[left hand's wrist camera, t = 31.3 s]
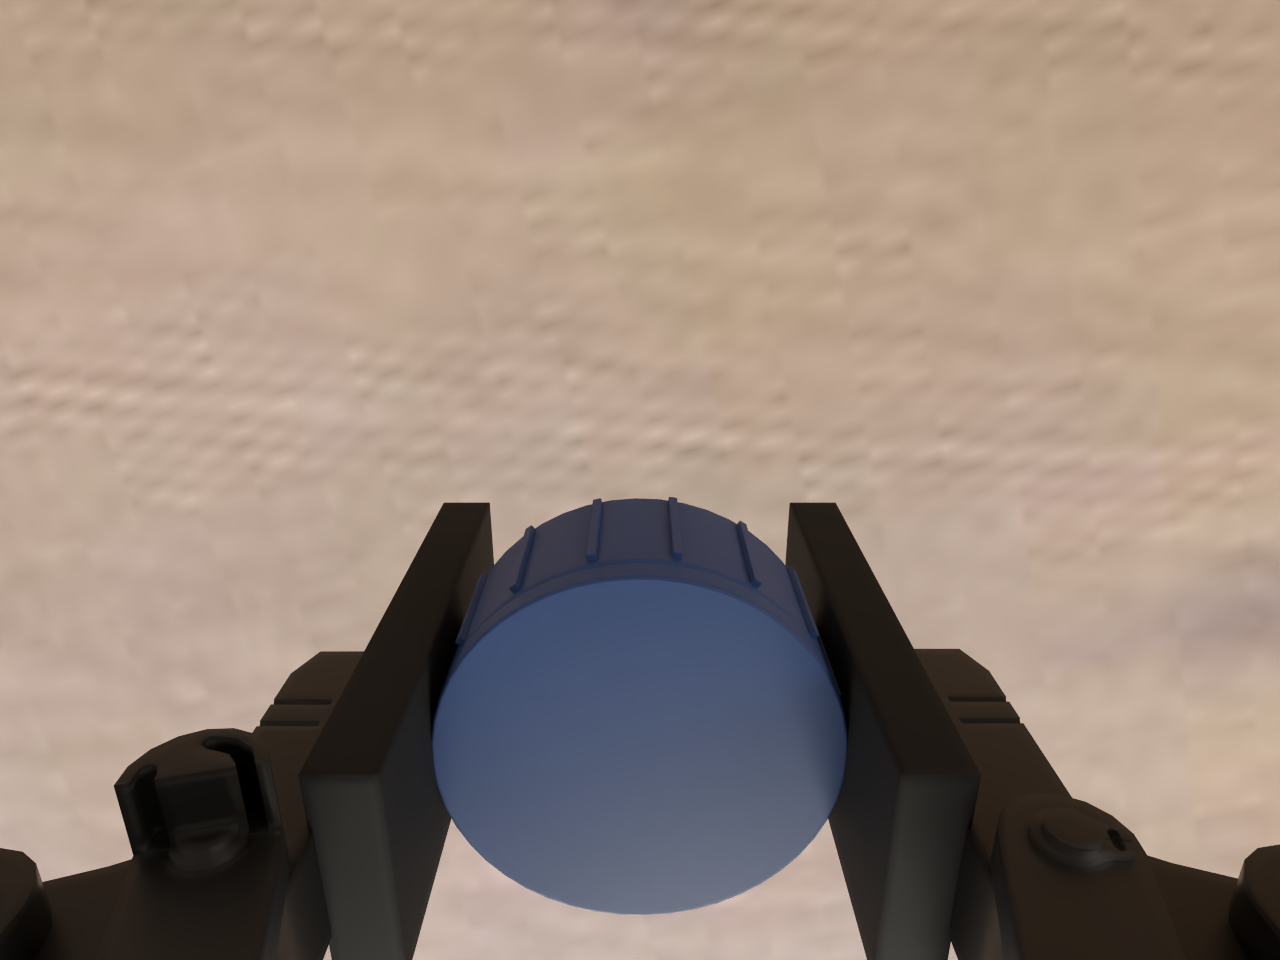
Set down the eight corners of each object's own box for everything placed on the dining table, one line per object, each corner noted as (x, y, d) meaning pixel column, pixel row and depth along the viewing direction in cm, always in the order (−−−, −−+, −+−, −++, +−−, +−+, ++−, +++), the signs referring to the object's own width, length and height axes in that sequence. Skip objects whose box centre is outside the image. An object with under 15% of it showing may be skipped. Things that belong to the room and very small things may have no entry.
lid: (527, 439, 11) (502, 510, 9) (877, 566, 12) (928, 658, 10) (421, 738, 13) (379, 855, 11) (731, 832, 14) (748, 960, 11)
